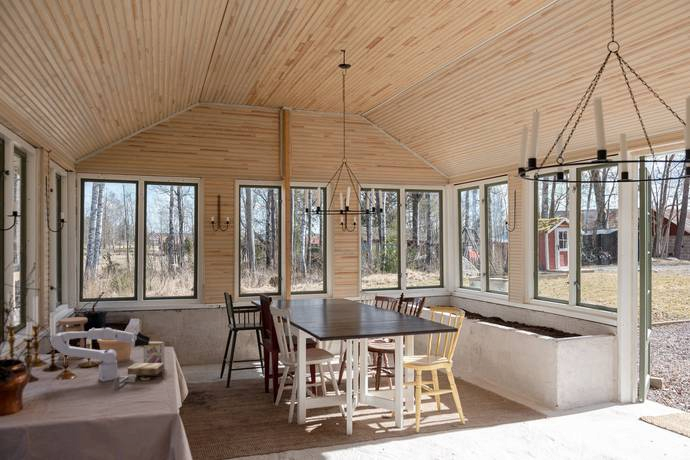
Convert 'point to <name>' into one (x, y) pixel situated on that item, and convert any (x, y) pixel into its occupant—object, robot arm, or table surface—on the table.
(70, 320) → the hourglass
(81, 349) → the robot arm
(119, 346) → the pottery
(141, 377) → the brass disc
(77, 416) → the table surface
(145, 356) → the candy bar box
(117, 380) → the grey t-shaped piece
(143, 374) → the tan cardboard box
